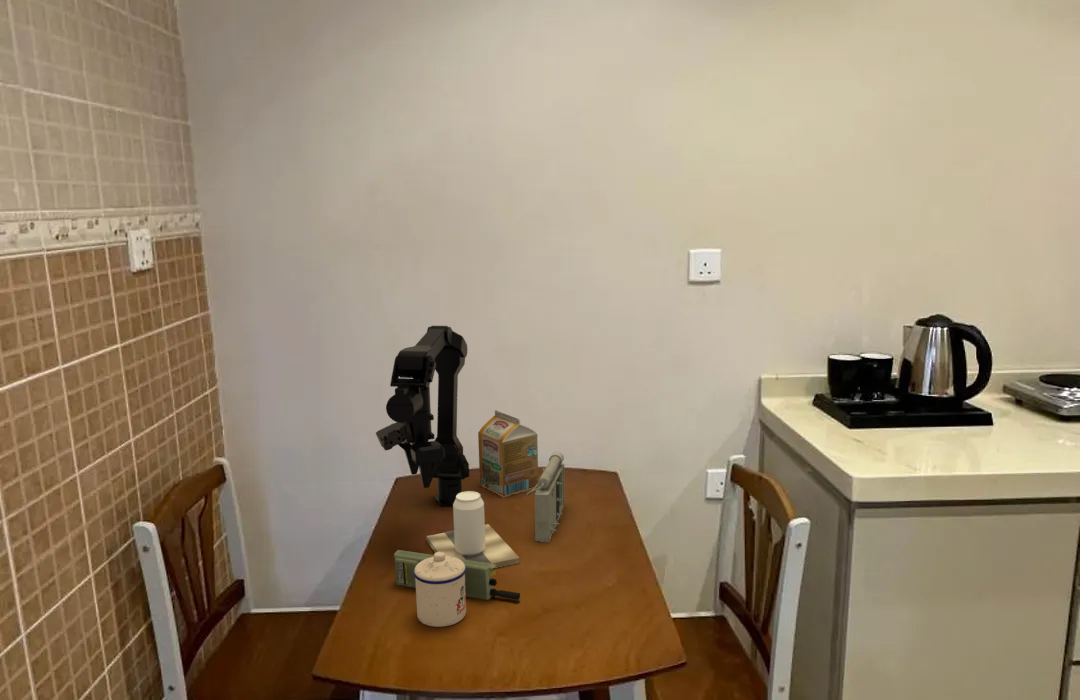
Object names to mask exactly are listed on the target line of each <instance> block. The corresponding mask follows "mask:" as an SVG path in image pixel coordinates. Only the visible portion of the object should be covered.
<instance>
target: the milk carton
mask: <svg viewBox="0 0 1080 700" xmlns="http://www.w3.org/2000/svg"><path fill="white" fill-rule="evenodd" d="M477 436H478V438H477V439H478V464H479V465H478V468H479V469H478V470H479V485H480V484H481V485H484V486H485V487H487V488H489V489H491V490H493V491H495V492H497V493H499V494H501V495H503V496H505V495H509V494H512V493H515V492H519V491H522V490H526V489H529V488H532V487H535V486H536V485H537V484H538V481H539V456H538V455H539V451H538V450H539V449H538V448H539V446H538V443H539V442H538V433H537V432H536V431H535V430H533V429H532V428H530V427H527V426H525V425H523V424H521V419H520V418H519V417H517V416H515V415H511V414H509V413H506V412H503V411H500V410H498V409H495V410H494V415H493V416H492V417H491V418H490V419H489V420H487V421H486V423H484V425H483V426H481V428H480V429H479V431H478V435H477Z"/></svg>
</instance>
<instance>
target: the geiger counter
mask: <svg viewBox="0 0 1080 700" xmlns="http://www.w3.org/2000/svg"><path fill="white" fill-rule="evenodd" d="M564 459H565V458H564V454H563V452H561V451H557V450H556V451H553V452H552V454H551V455H550V456H549V459H548V463H547V465H546V467H544V468H542V474H541V475H540V477H539V478H538V484H537V485H536V486H535V487H534V488H533V489H532V490H529V491H527V493H526V494H525V496H526V497H528V496H530V495H531V494H532V493H533V492H535V493H534V514H535V515H534V522H535V523H534V529H535V530H534V533H535V535H534V537H535V538H534V539H535V542H538V541H540V543H550V541H551V539H552V537H553V535H552V534H554V532H557V531H558V530H557V529H556V528H555V527H557V526H558V525H561V524H560V523H559V521H560V519H559V518H561V516H562V515H563V514H564V513H563V512H561V511H562V508H563V506H566V505H565V502H566V501H565V499H566V498H565V488H566V487H565V463H563V462H564ZM537 487H538V488H537ZM561 513H562V514H561ZM560 515H561V516H560ZM558 520H559V521H558ZM551 536H552V537H551Z"/></svg>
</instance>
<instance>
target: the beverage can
mask: <svg viewBox="0 0 1080 700" xmlns="http://www.w3.org/2000/svg"><path fill="white" fill-rule="evenodd" d="M452 507H453V508H452V509H453V510H452V511H453V513H452V515H453V516H452V517H453V530H454V539H455V550H456V551H457V552H458V553H460V554H462V555H465V556H473V555H477V554H479V553H480V552H481V551H483V550H484V549H485V525H486V523H485V501H484V500H483V498H482V497H481V493H479V492H477V491H474V490H471V491H470V490H467V491H462V492H461V493H459V494H457V495H456V499H455V501H454V503H453V504H452Z"/></svg>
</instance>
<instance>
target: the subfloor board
mask: <svg viewBox="0 0 1080 700" xmlns="http://www.w3.org/2000/svg"><path fill="white" fill-rule="evenodd" d="M426 542H427V544H428V545H429V546H430V548H431V549H432V551H433V550H434V551H433V552H434V554H435V553H436V552H443V553H444V554H445V556H451V557H455V558H458V559H464V560H470V561H477V562H484V563H491V564H495V565H496V566H495V567H494V568H495V569H499V568H498V567H500V568H503V566H504V567H507V566H508V565H509V566H513V565H517V564H520V557H519V555H518V554H517V553H516V552H515V551H514V550H513V549H512V548H511V547H510V546H509V544H508V543H506V542H505V541H504V540H503V538H502V537H501V536H500V535H499V534H498V533H497V532H496V531H495V529H494V528H493V527H492V526H490V524H488V523H487V524H485V549H484V550H483V551H481V552H480V553H479V554H477V555H473V556H465V555H462V554H460V553H458V552H457V551H456V550H455V539H454V529H452V530H448V531H444V532H442V533H436V534H431V535H426Z"/></svg>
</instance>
